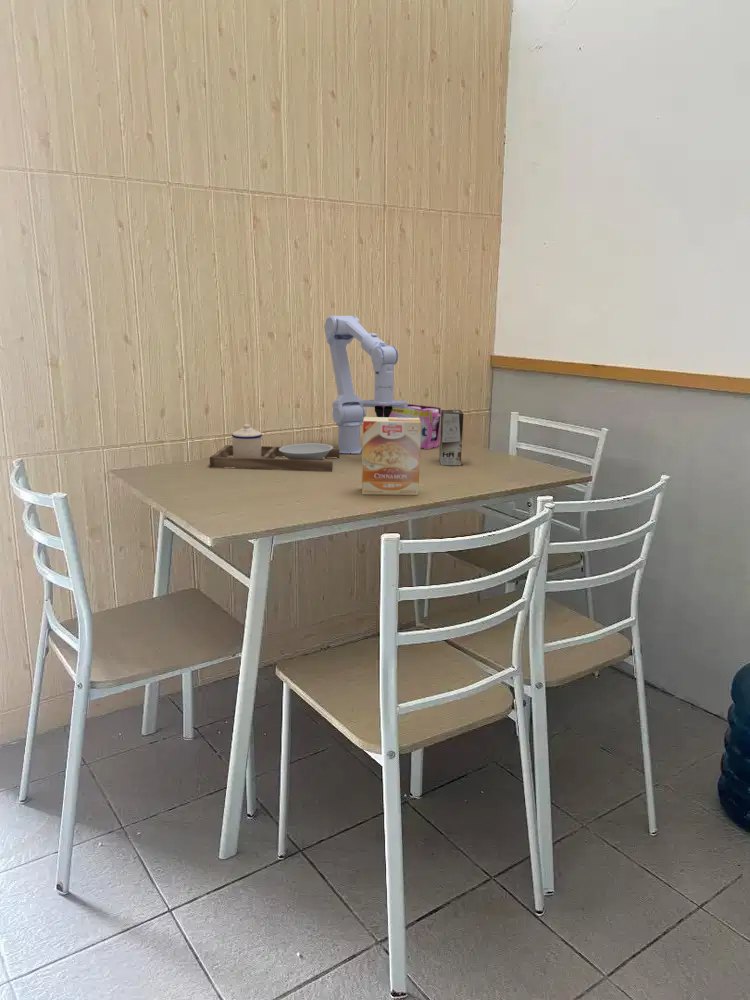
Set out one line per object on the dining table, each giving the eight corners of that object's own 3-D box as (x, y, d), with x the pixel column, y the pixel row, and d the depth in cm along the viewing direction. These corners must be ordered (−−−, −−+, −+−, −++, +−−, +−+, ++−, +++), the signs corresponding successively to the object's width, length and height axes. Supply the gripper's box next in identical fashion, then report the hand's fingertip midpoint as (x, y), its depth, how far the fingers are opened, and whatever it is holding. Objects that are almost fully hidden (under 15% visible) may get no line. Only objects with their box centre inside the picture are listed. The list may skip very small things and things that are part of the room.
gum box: (443, 447, 260) (445, 408, 256) (430, 450, 254) (432, 410, 250) (387, 438, 274) (388, 401, 270) (374, 441, 268) (375, 403, 264)
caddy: (226, 454, 241) (226, 445, 240) (339, 457, 239) (339, 448, 238) (210, 467, 222) (209, 457, 222) (332, 471, 220) (332, 461, 220)
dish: (297, 472, 219) (297, 455, 217) (268, 463, 229) (268, 447, 228) (343, 464, 230) (343, 448, 229) (314, 456, 240) (314, 441, 239)
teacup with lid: (268, 462, 230) (267, 425, 227) (243, 466, 224) (242, 428, 221) (246, 456, 239) (245, 420, 236) (221, 460, 232) (220, 423, 229)
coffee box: (461, 465, 231) (464, 413, 227) (440, 465, 231) (442, 413, 227) (458, 459, 240) (461, 409, 235) (438, 459, 240) (440, 408, 236)
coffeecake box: (361, 494, 195) (362, 420, 190) (361, 488, 202) (362, 416, 197) (419, 495, 196) (421, 421, 190) (417, 488, 202) (419, 416, 197)
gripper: (359, 387, 224) (358, 432, 228) (407, 388, 223) (406, 433, 227) (361, 384, 231) (360, 428, 234) (408, 386, 230) (406, 429, 234)
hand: (383, 430), depth 231 cm, fingers closed
